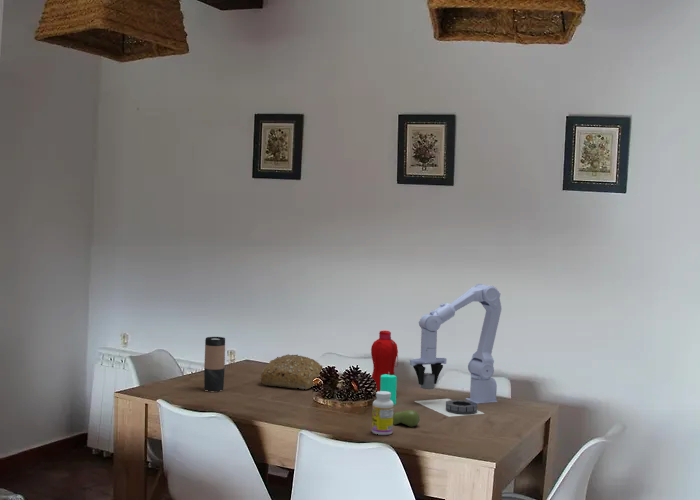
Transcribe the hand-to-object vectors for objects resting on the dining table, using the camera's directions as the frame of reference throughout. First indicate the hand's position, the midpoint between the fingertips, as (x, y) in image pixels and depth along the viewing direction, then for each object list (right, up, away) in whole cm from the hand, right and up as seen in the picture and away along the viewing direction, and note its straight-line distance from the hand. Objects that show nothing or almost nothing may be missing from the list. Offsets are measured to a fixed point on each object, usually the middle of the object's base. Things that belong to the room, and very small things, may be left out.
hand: (427, 384), depth 292 cm
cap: (0, -1, 0) cm, 1 cm away
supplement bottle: (-18, -9, -41) cm, 46 cm away
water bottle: (-15, -7, +11) cm, 20 cm away
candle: (-15, -7, -2) cm, 17 cm away
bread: (-51, -5, +27) cm, 58 cm away
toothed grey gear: (+11, -8, -10) cm, 17 cm away
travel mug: (-81, -5, +11) cm, 81 cm away
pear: (-11, -9, -31) cm, 34 cm away
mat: (+7, -8, -5) cm, 12 cm away
